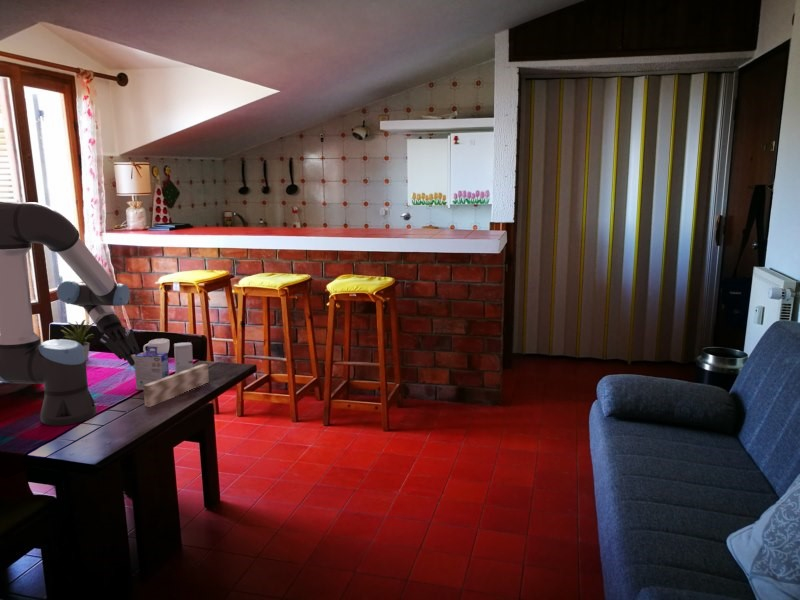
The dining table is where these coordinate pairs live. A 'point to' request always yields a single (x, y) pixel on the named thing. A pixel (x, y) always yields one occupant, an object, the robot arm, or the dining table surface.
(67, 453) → the dining table surface
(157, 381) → the board
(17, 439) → the dining table surface
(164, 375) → the ink cartridge box
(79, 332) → the house plant
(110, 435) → the dining table surface
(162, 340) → the cup
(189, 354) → the skincare box
